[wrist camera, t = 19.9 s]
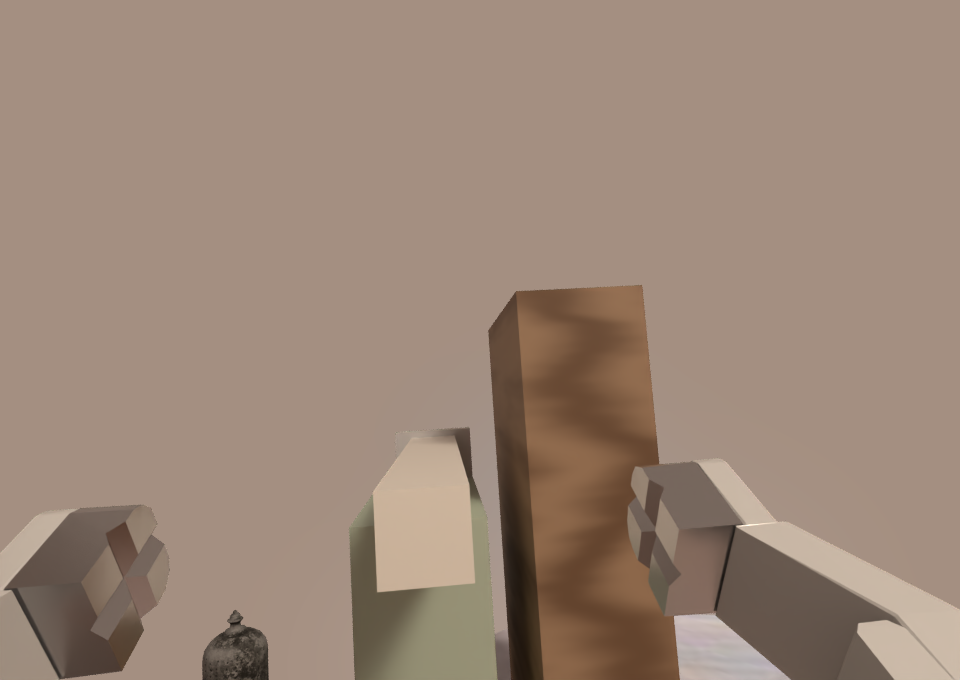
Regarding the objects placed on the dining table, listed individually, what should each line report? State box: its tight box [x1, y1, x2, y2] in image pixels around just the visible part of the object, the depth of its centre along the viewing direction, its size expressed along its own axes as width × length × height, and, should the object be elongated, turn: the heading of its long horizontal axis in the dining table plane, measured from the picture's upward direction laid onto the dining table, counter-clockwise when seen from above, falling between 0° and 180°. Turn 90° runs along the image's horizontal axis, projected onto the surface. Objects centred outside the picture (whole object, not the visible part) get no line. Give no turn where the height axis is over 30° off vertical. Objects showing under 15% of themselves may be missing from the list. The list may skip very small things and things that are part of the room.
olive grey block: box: [349, 478, 497, 680], centre depth 30 cm, size 6×15×16 cm, turn 4°
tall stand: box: [488, 285, 680, 680], centre depth 31 cm, size 6×15×26 cm, turn 4°
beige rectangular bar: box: [373, 427, 475, 592], centre depth 25 cm, size 5×20×3 cm, turn 4°
